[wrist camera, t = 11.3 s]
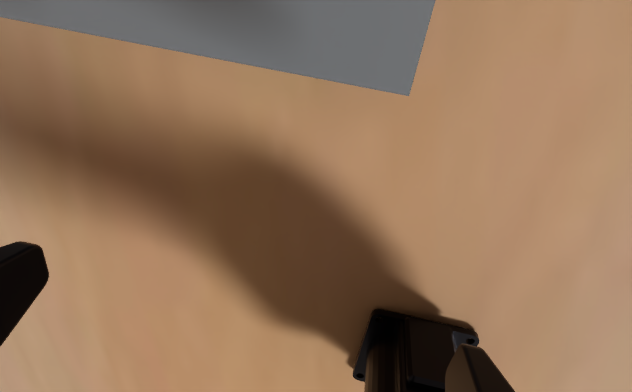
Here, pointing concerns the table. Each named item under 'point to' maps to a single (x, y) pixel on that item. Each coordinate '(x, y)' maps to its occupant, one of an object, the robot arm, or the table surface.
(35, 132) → the table surface
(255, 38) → the hole board
